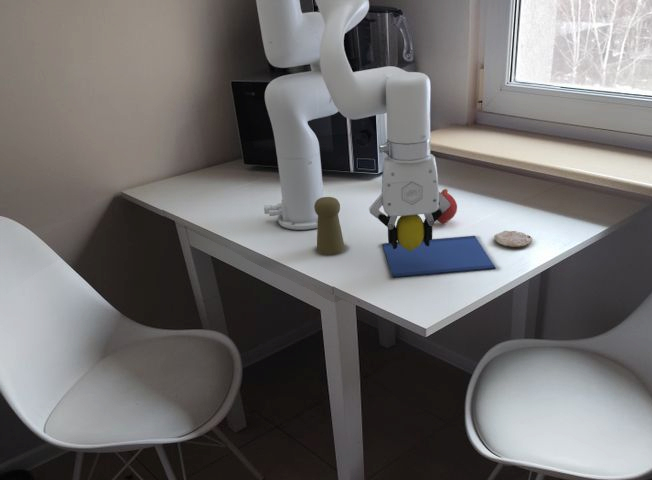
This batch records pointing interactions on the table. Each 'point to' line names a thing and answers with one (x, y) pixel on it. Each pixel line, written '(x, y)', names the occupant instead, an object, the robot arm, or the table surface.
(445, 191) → the onion
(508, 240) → the flatbread
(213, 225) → the table surface
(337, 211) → the olive pawn
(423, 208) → the robot arm
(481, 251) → the blue rectangular board
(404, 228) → the lemon
